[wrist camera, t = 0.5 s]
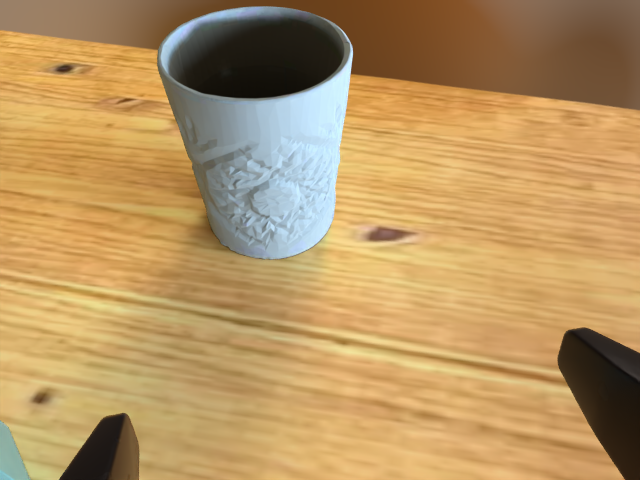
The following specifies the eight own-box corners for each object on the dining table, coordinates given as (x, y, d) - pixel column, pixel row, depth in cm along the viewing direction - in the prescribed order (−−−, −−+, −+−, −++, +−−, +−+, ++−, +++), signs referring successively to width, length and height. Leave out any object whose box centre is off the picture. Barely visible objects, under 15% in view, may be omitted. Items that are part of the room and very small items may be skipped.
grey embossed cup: (285, 293, 30) (275, 126, 21) (163, 225, 33) (109, 58, 25) (368, 197, 36) (388, 33, 27) (256, 147, 39) (240, -12, 30)
